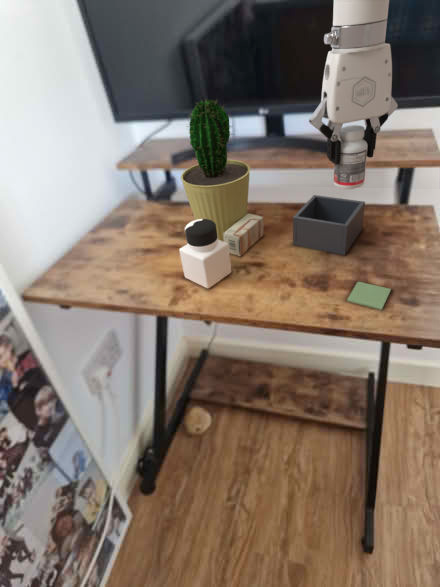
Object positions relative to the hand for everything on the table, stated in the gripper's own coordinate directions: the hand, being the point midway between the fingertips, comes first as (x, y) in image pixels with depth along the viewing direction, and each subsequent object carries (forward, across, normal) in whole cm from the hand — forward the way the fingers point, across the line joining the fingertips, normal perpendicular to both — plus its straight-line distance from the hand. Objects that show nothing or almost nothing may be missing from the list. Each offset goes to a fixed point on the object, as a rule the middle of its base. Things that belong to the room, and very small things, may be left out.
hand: (350, 157), depth 70 cm
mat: (+21, -1, -13) cm, 25 cm away
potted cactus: (+21, -21, +22) cm, 36 cm away
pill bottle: (+5, 0, 0) cm, 5 cm away
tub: (+21, +1, +9) cm, 23 cm away
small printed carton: (+18, -21, +10) cm, 30 cm away
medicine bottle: (+21, -28, +5) cm, 35 cm away
